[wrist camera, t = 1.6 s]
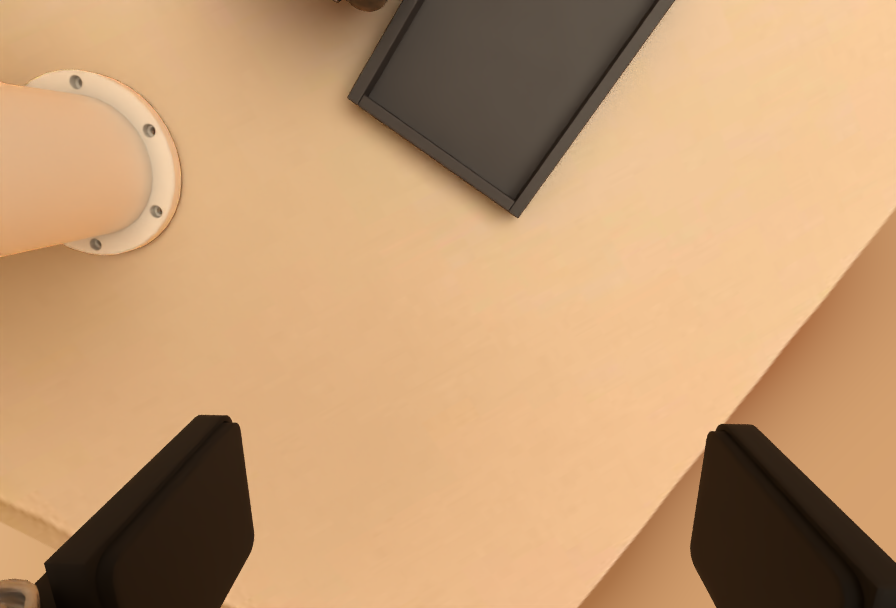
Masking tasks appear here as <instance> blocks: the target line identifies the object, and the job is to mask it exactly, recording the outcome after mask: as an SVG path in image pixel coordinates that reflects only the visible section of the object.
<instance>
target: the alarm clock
mask: <svg viewBox="0 0 896 608" xmlns="http://www.w3.org/2000/svg"><path fill="white" fill-rule="evenodd" d="M333 1H335V2H337V3H339V2H340V1H341V0H333ZM346 1H348V2H349V3H350V4H351V5H352V6H354V7H355V8H357V9H360V10H363V11H369V12H370V11H375V10H378V9H380V8H382V7H383V5H384V4H385V3H386V1H387V0H346Z"/></svg>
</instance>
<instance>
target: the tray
mask: <svg viewBox="0 0 896 608" xmlns="http://www.w3.org/2000/svg"><path fill="white" fill-rule="evenodd" d="M674 1H675V0H403V1H402V3H401V4H400V6H399V8H398V10H397V11H396V13H395V15H394V17H393V18H392V20H391V22H390V24H389V25H388V27H387V29H386V31H385V32H384V34H383V36H382V37H381V39H380V41H379V43H378V44H377V46H376V48H375V50H374V51H373V53H372V55H371V57H370V58H369V60H368V62H367V64H366V65H365V67H364V69H363V71H362V72H361V74H360V76H359V78H358V79H357V81H356V83H355V85H354V86H353V88H352V90H351V92H350V93H349V95H348V97H347V98H348V99H349V100H351V101H352V102H353V103H355V104H356V105H358V106H359V107H361V108H362V109H363V110H365V111H366V112H368V113H369V114H371V115H372V116H373V117H375V118H376V119H378V120H379V121H380V122H382V123H383V124H385V125H386V126H388V127H389V128H390V129H392V130H393V131H395V132H396V133H398V134H399V135H400V136H402V137H403V138H405V139H406V140H407V141H409V142H410V143H412V144H413V145H415V146H416V147H417V148H419V149H420V150H422V151H423V152H425V153H426V154H427V155H429V156H430V157H432V158H433V159H434V160H436V161H437V162H439V163H440V164H442V165H443V166H444V167H446V168H447V169H449V170H450V171H452V172H453V173H454V174H456V175H457V176H459V177H460V178H461V179H463V180H464V181H466V182H467V183H469V184H470V185H471V186H473V187H474V188H476V189H477V190H479V191H480V192H481V193H483V194H484V195H486V196H487V197H488V198H490V199H491V200H493V201H494V202H496V203H497V204H498V205H500V206H501V207H503V208H504V209H506V210H507V211H509V212H510V213H511V214H513V215H514V216H515V217H517V218H519V216H520V215H521V214H522V212H523V211H524V209H525V208H526V207H527V205H528V204H529V203H530V201H531V200H532V198H533V197H534V196H535V194H536V193H537V191H538V190H539V189H540V187H541V186H542V184H543V183H544V182H545V180H546V179H547V177H548V176H549V175H550V173H551V172H552V171H553V169H554V168H555V166H556V165H557V164H558V162H559V161H560V159H561V158H562V157H563V155H564V154H565V152H566V151H567V150H568V148H569V147H570V146H571V144H572V143H573V141H574V140H575V139H576V137H577V136H578V134H579V133H580V132H581V130H582V129H583V127H584V126H585V125H586V123H587V122H588V120H589V119H590V118H591V116H592V115H593V114H594V112H595V111H596V109H597V108H598V107H599V105H600V104H601V102H602V101H603V100H604V98H605V97H606V95H607V94H608V93H609V91H610V90H611V89H612V87H613V86H614V84H615V83H616V82H617V80H618V79H619V77H620V76H621V75H622V73H623V72H624V70H625V69H626V68H627V66H628V65H629V63H630V62H631V61H632V59H633V58H634V57H635V55H636V54H637V52H638V51H639V50H640V48H641V47H642V45H643V44H644V43H645V41H646V40H647V38H648V37H649V36H650V34H651V33H652V32H653V30H654V29H655V27H656V26H657V25H658V23H659V22H660V20H661V19H662V18H663V16H664V15H665V13H666V12H667V11H668V9H669V8H670V6H671V5H672V4H673V2H674Z"/></svg>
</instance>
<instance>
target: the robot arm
mask: <svg viewBox="0 0 896 608" xmlns="http://www.w3.org/2000/svg"><path fill="white" fill-rule="evenodd" d="M154 128H155V133H154ZM180 190H181V168H180V162H179V158H178V154H177V150H176V146H175V144H174V142H173V139H172V137H171V135H170V132H169V130H168V128H167V127H166V125H165V124H164V122H163V121H162V119H161V118H160V116H159V115H158V113H157V112H156V111H155V110H154V109H153V108H152V107H151V105H150V104H149V103H148V102H147V101H146V100H145V99H144V98H143V97H141V96H140V95H139V94H138V93H136V92H135V91H134V90H133V89H131V88H130V87H128V86H126V85H124V84H123V83H121V82H119V81H117V80H115V79H113V78H110V77H107V76H104V75H101V74H98V73H93V72H88V71H83V70H58V71H53V72H48V73H45V74H43V75H41V76H38V77H36V78H34V79H32V80H31V81H29V82H28V83H27V84H26V85H24V86H19V85H12V84H6V83H3V82H1V81H0V257H4V256H8V255H13V254H18V253H22V252H27V251H31V250H36V249H40V248H45V247H49V246H54V245H58V244H63V245H65V246H67V247H69V248H72V249H75V250H78V251H81V252H84V253H89V254H97V255H112V254H120V253H124V252H128V251H132V250H134V249H137V248H139V247H142V246H144V245H146V244H148V243H149V242H151V241H152V240H154V239H155V238H156V237H158V236H159V235H160V233H161V232H162V231H163V230H164V229H165V228H166V227H167V226H168V224H169V222H170V220H171V219H172V217H173V215H174V214H175V211H176V208H177V205H178V202H179V198H180ZM161 210H162V212H161ZM253 542H254V528H253V521H252V513H251V505H250V498H249V490H248V483H247V475H246V468H245V460H244V453H243V445H242V437H241V430H240V426H239V425H238V424H237V423H232V420H231V418H230V417H229V416H227V415H198V416H197V417H195V418H194V419H193V420H192V421H191V422H190V423H189V424H188V425H187V426H186V427H185V428H184V429H183V430H182V431H181V432H180V433H179V434H178V435H177V436H175V437H174V438H173V439H172V440H171V441H170V442H169V443H168V444H167V445H166V446H165V447H164V448H163V449H162V450H161V451H160V452H159V453H158V454H157V455H156V456H155V457H154V458H153V459H152V460H151V461H150V462H148V463H147V464H146V465H145V466H144V467H143V468H142V469H141V470H140V471H139V472H138V473H137V474H136V475H135V476H134V477H133V478H132V479H131V480H130V481H129V482H128V483H127V484H126V485H125V486H124V487H123V488H122V489H120V490H119V491H118V492H117V493H116V494H115V495H114V496H113V497H112V498H111V499H110V500H109V501H108V502H107V503H106V504H105V505H104V506H103V507H102V508H101V509H100V510H99V511H98V512H97V513H96V514H95V515H93V516H92V517H91V518H90V519H89V520H88V521H87V522H86V523H85V524H84V525H83V526H82V527H81V528H80V529H79V530H78V531H77V532H76V533H75V534H74V535H73V536H72V537H71V538H70V539H69V540H68V541H67V542H65V543H64V544H63V545H62V546H61V547H60V548H59V549H58V550H57V551H56V552H55V553H54V554H53V555H52V556H51V557H50V558H49V559H48V560H47V561H46V562H45V563H44V565H45V568H46V573H45V574H44V575H43V576H42V577H41V578H40V579H39V580H38V581H37V582H36V583H35V584H33V583H31V582H29V581H28V580H19V579H9V580H2V581H0V608H220V607H221V605H222V604H223V602H224V600H225V598H226V596H227V594H228V593H229V591H230V589H231V587H232V585H233V584H234V582H235V580H236V578H237V576H238V574H239V573H240V571H241V569H242V567H243V565H244V564H245V562H246V560H247V558H248V556H249V555H250V552H251V550H252V547H253ZM690 550H691V558H692V561H693V564H694V566H695V568H696V570H697V572H698V574H699V576H700V578H701V580H702V581H703V583H704V585H705V587H706V589H707V591H708V593H709V594H710V596H711V598H712V600H713V602H714V604H715V606H716V608H896V563H895V562H894V561H893V560H892V559H891V558H890V557H889V556H888V555H887V554H886V553H885V552H884V551H883V550H882V549H881V548H880V547H879V546H878V545H877V544H876V543H875V542H874V541H873V540H872V539H871V538H870V537H869V536H868V535H867V534H865V533H864V532H863V531H862V530H861V529H860V528H859V527H858V526H857V525H856V524H855V523H854V522H853V521H852V520H851V519H850V518H849V517H848V516H847V515H846V514H845V513H844V512H843V511H842V510H841V509H840V508H839V507H838V506H837V505H836V504H835V503H833V502H832V500H831V499H830V498H828V497H827V496H826V495H825V494H824V493H823V492H822V491H821V490H820V489H819V488H818V487H817V486H816V485H815V484H814V483H813V482H812V481H811V480H810V479H809V478H808V477H807V476H806V475H805V474H804V473H803V472H802V471H801V470H800V469H798V467H796V466H795V464H793V463H792V462H791V461H790V460H789V459H788V458H787V457H786V456H785V455H784V454H783V453H782V452H781V451H780V450H779V449H778V448H777V447H776V446H775V445H774V444H773V443H772V442H771V441H770V440H769V439H768V438H767V437H766V436H765V435H764V434H763V433H762V432H761V431H759V430H758V429H757V428H756V427H755V426H754V425H748V424H747V425H746V424H720V425H719V426H718V427H717V429H716V431H711V432H709V434H708V435H707V439H706V446H705V452H704V459H703V465H702V472H701V479H700V485H699V492H698V498H697V505H696V512H695V518H694V525H693V531H692V537H691V545H690Z"/></svg>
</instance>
